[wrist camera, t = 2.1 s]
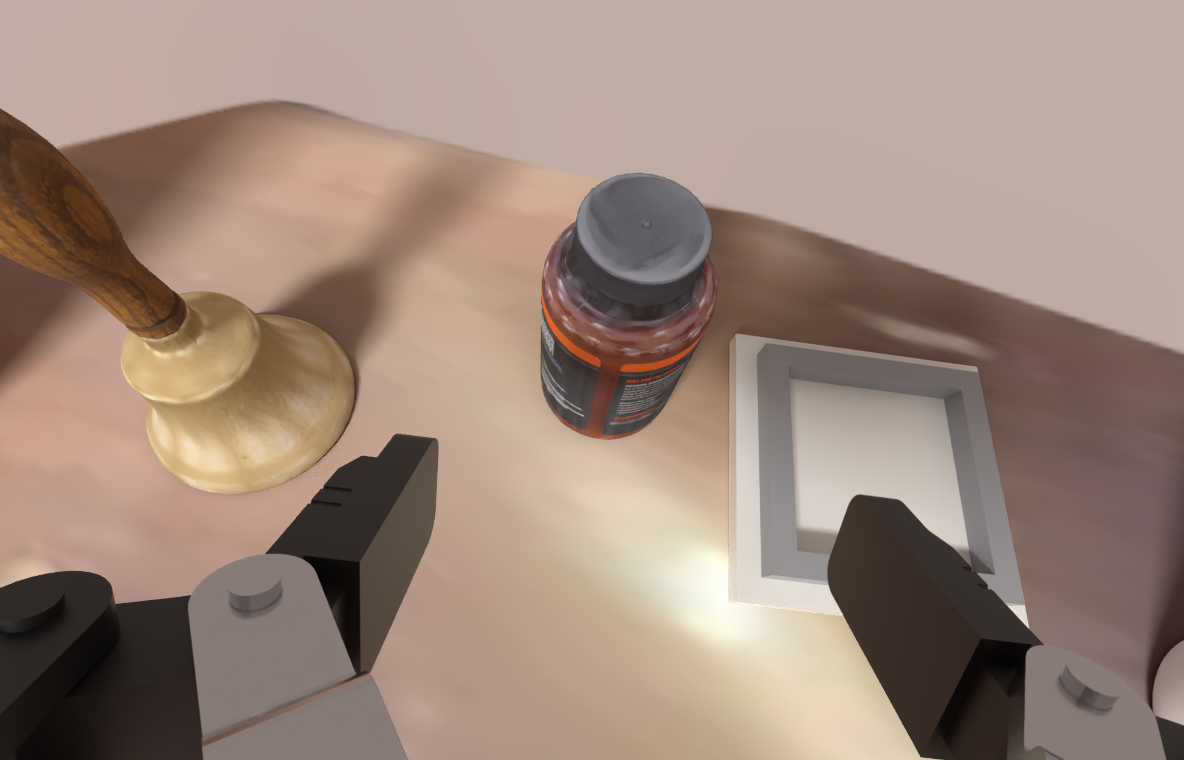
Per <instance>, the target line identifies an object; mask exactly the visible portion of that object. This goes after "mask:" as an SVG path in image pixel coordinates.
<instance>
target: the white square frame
mask: <svg viewBox="0 0 1184 760" xmlns="http://www.w3.org/2000/svg"><path fill="white" fill-rule="evenodd" d="M858 494H862V495H870V496H877V497H885V498H893V499H898V500H900V501H902V502H903V503H904V504H905V505H906V506H907V507H908V508H909V509H910V510H911V512H912V513H913V514H914V515H915V516H916V517H917V518H918V519H919V520H920V521H921V523H922V524H923V525H924V526H925V527H926V528H927V529H928V530H929V531H930V532H932V533H933V534H935V535H936V536H937V537H939V538H940V539H942V540H943V541H945V542H946V543H947V544H949V545H950V546H952V547H953V548H954V549H955V550H956V551H957V552H958V553H959V554H960V555H961V557H962V558H963V559H964V560H965V561H966V562H967V563H968V564H969V565H970V566H971V567H972V571H973V572H976V573H977V574H978V575H979V576H980V577H981V578H982V579H983V580H984V581H985V582H986V583H987V584H988V589H992V590H993V591H994V592H995V593H996V594H997V595H998V596H999V597H1000V598H1001V599H1002V601H1003V602H1004V603H1005V604H1006V605H1007V606H1008V607H1009V608H1010V609H1011V610H1012V611H1013V612H1014V613H1015V614H1016V616H1017V617H1018V618H1019V619H1020V620H1021V621H1022V622H1023V623H1024V624H1025V625H1026V626H1027V627H1028V628H1029V625H1028V620H1027V615H1026V610H1025V601H1024V596H1023V591H1022V586H1021V581H1020V576H1019V571H1018V566H1017V561H1016V556H1015V551H1014V546H1013V541H1012V536H1011V531H1010V526H1009V521H1008V516H1007V511H1006V506H1005V501H1004V496H1003V491H1002V486H1001V481H1000V476H999V471H998V466H997V461H996V456H995V451H994V446H993V441H992V436H991V431H990V426H989V421H988V416H987V411H986V406H985V401H984V396H983V391H982V386H981V381H980V376H979V372H978V369H977V367H975V366H968V365H960V364H953V363H946V362H939V361H931V360H924V359H917V358H910V357H902V356H895V355H888V354H881V353H874V352H866V351H859V350H852V349H845V348H837V347H830V346H823V345H816V344H808V343H801V342H794V341H787V340H780V339H772V338H765V337H758V336H751V335H743V334H735V336H734V337H733V339H732V340H731V342H730V343H729V603H737V604H746V605H754V606H763V607H771V608H780V609H788V610H797V611H805V612H814V613H823V614H831V615H840V616H843V614H842V612H841V610H840V609H839V607H838V605H837V603H836V601H835V599H834V598H833V596H832V594H831V592H830V589H829V585H828V579H827V568H828V561H829V558H830V555H831V552H832V549H833V546H834V544H835V541H836V538H837V535H838V532H839V530H840V527H841V524H842V521H843V518H844V516H845V513H846V510H847V507H848V505H849V502H850V501H851V499H852V498H853V497H854V496H856V495H858Z"/></svg>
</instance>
